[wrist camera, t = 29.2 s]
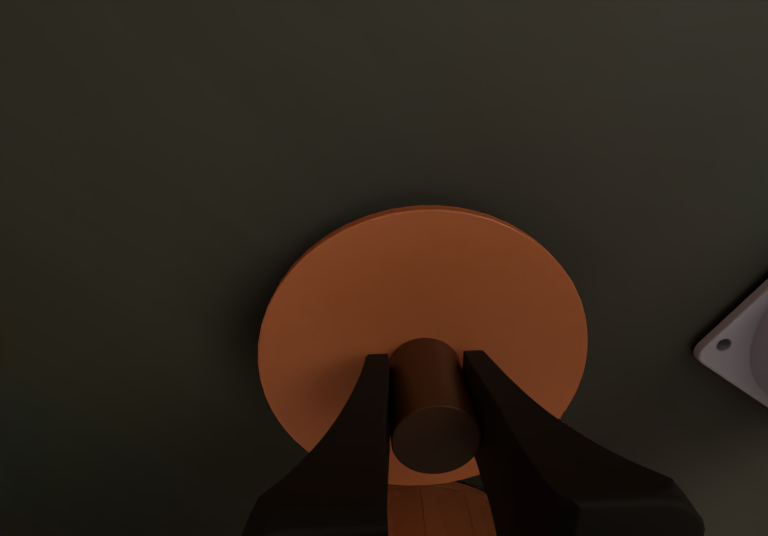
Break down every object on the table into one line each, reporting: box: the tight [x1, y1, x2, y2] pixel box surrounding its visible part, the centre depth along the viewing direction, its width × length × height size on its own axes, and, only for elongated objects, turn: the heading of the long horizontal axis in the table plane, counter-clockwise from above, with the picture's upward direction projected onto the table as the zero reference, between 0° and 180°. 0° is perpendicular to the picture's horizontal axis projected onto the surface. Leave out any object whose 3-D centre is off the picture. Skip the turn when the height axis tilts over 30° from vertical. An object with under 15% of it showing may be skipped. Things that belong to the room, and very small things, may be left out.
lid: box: [258, 205, 588, 486], centre depth 14 cm, size 11×11×4 cm
